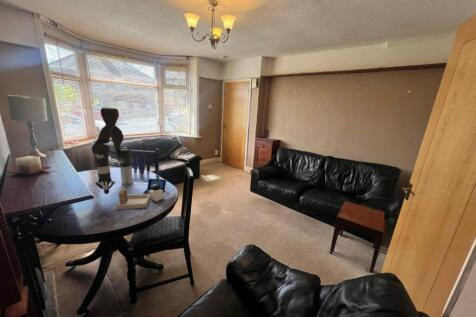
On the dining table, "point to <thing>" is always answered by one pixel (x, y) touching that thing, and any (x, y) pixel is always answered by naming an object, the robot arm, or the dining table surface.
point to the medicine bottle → (156, 193)
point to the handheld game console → (153, 182)
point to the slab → (123, 196)
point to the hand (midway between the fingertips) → (106, 193)
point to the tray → (135, 201)
